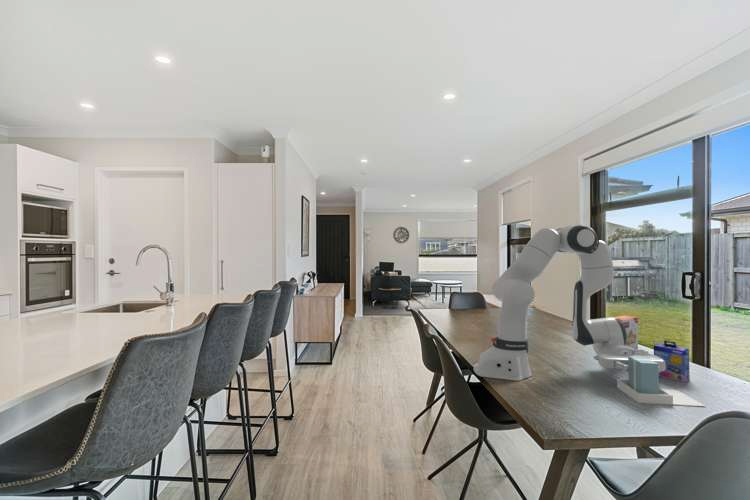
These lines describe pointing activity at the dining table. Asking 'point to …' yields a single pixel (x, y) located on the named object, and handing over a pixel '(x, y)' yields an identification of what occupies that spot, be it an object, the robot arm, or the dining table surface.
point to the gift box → (643, 375)
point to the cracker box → (630, 330)
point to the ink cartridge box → (673, 361)
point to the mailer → (658, 396)
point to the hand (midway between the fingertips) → (642, 369)
